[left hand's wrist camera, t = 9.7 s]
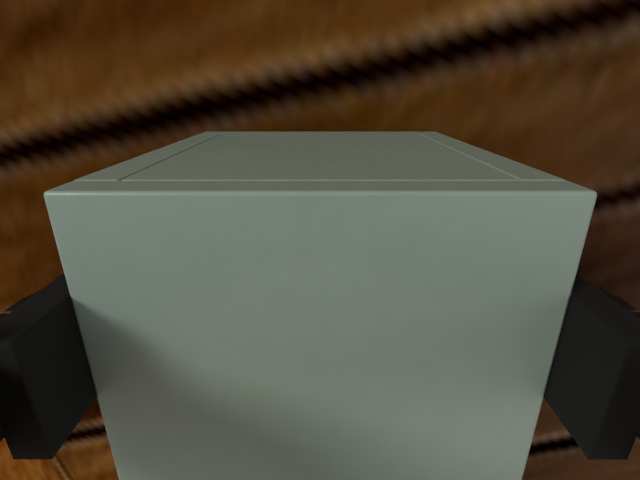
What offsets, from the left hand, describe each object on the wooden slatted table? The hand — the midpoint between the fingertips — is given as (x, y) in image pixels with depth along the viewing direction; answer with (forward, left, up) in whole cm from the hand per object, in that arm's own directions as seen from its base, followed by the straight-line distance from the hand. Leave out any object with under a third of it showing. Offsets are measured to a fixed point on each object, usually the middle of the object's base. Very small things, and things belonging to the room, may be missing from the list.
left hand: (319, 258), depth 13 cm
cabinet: (+1, +4, -6) cm, 8 cm away
